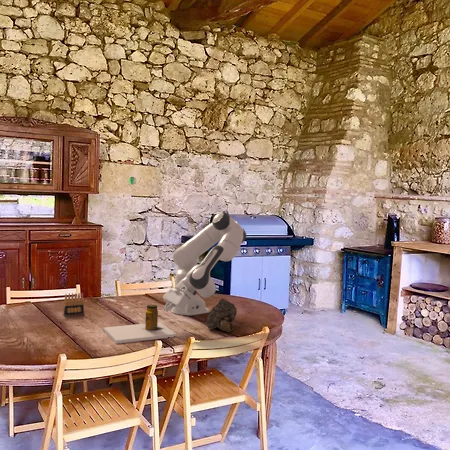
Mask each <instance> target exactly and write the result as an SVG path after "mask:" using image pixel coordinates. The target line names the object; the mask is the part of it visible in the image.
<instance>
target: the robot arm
mask: <svg viewBox="0 0 450 450" xmlns="http://www.w3.org/2000/svg"><path fill="white" fill-rule="evenodd" d="M246 238H247V232H246V230H245V229H244V228H243V227H242V226H241V225H240V223H238V221H236V220H235V219H234V218H233V217H231V216H230V214H229V213H227V212H226V211H220V212H218V213H216V215H214V216H213V219H212V222H211V223H209V224H208V225H206V226H205V227H204V228H202V229H201V230H200V231H199V232H198V233H196V234H195V235H194V236H193V237H191V238H190V239H188V240H187V241H186V242H184V243H183V244H182V245H180V246H179V247H177V249H175V250H174V253H172V254H173V255H172V261H173V263H174V264H175V265H177V269H176V271H175V272H176V273H175V283H174V287H171V288H170V289H169V290H167V291H166V292H165V293H164V294H163V296H162V299H163V300H164V301H165V302H166V303H165V305H164V307H163V308H162V309H163V311H165V312H167V313H168V312H169V311H170V310H171V312H172V313H173V314H176V315H183V316H197V315H202V314H209V312H210V309H209V308H207V307H206V302H205V300H204V299H203V298H205V299H208V298H211V297H212V296H214V295H215V293H216V290H217V287H216V286H217V285H216V284H215V282H214V281H213V278H212V277H211V270H212V269H213V268H214V267H215V265H216V264H217V262H218V261H223V262H230V261H232V260H233V259H234V258H235V257H236V255H237V253H238V251H239V250H240V248H241V245H242V244H243V243H244V242H245V240H246ZM215 244H216V245H215ZM210 248H211V249H210ZM209 249H210V251H208V250H209ZM207 251H208V253H207V254H206V256H205V257H204V258H203V259H202V260H201V262H200V263H199V264H197V263H198V262H197V261H198V258H199V257H200V256H202V255H203V254H204V253H205V252H207Z"/></svg>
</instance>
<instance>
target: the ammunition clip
mask: <svg viewBox="0 0 450 450" xmlns="http://www.w3.org/2000/svg"><path fill="white" fill-rule="evenodd" d="M84 301H85V300H84V293H83V292H81V294H80V292H78V293H76V292H75V293H73V292H72V293H71V294H70V293H68V294H67V293H65V295H64V301H63V302H64V304H63V305H64V306H63V316H73V315H84V314H85V310H84Z"/></svg>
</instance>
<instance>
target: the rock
mask: <svg viewBox="0 0 450 450" xmlns="http://www.w3.org/2000/svg"><path fill="white" fill-rule="evenodd" d="M237 313H238V311H237V307H236V306H235V304H234V303H231V302H230V301H228V300H226V299H225V298H221V299H219V301H218V302H217V304H216V305H215V306H213V307H212V308H211V310H209V313H207V314H208V315H207V319H206V321H205V326H207V328H208V329H209V330H214V329H217V328H218V329H219V330H220V331H222V330H223V331H222V332H224V331H226V332H225V333H231V332H232V331H233V330H234V325H233V322H234V321H236V320H235V319H236V316H237Z"/></svg>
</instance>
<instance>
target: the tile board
mask: <svg viewBox="0 0 450 450" xmlns="http://www.w3.org/2000/svg"><path fill="white" fill-rule="evenodd" d="M157 326H158V327H161V328H162V329H159V330H156V331H148V330H145V329H142V328H145V323H136V324H128V325H125V324H124V325H117V326H108V327H107V326H105V327H103V328H102V329H103V332H104V333H105V334H106V335H107V336H108V337H109V339H111V340H112V341H113V342H114V344H124V343H125V344H126V343H132V342H141V341H142V342H143V341H150V340H151V341H152V340H160V339H169V338H168V337H170V338H175V337H174V336H176V337H177V335H178V334H177V333H176V332H175V331H174V330H172V329H170V328H169V327H168V326H166V325H164V324H163V323H162V322H159V321H158V324H157Z"/></svg>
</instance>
